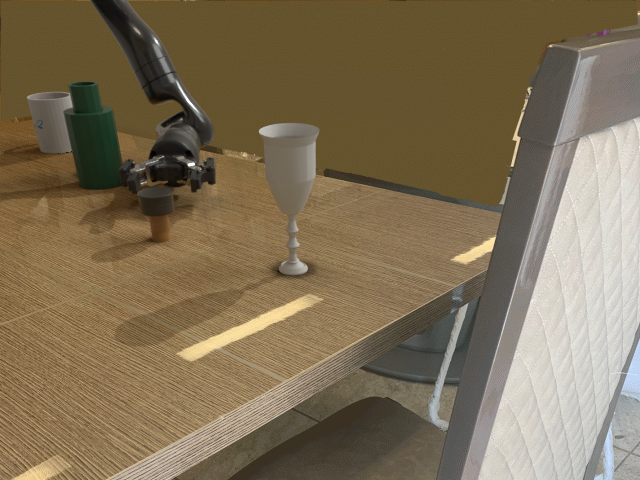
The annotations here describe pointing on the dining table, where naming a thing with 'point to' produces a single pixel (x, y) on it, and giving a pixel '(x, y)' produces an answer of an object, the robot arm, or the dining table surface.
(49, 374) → the dining table surface
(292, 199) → the chalice
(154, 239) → the stopper
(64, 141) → the mug
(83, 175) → the bottle
